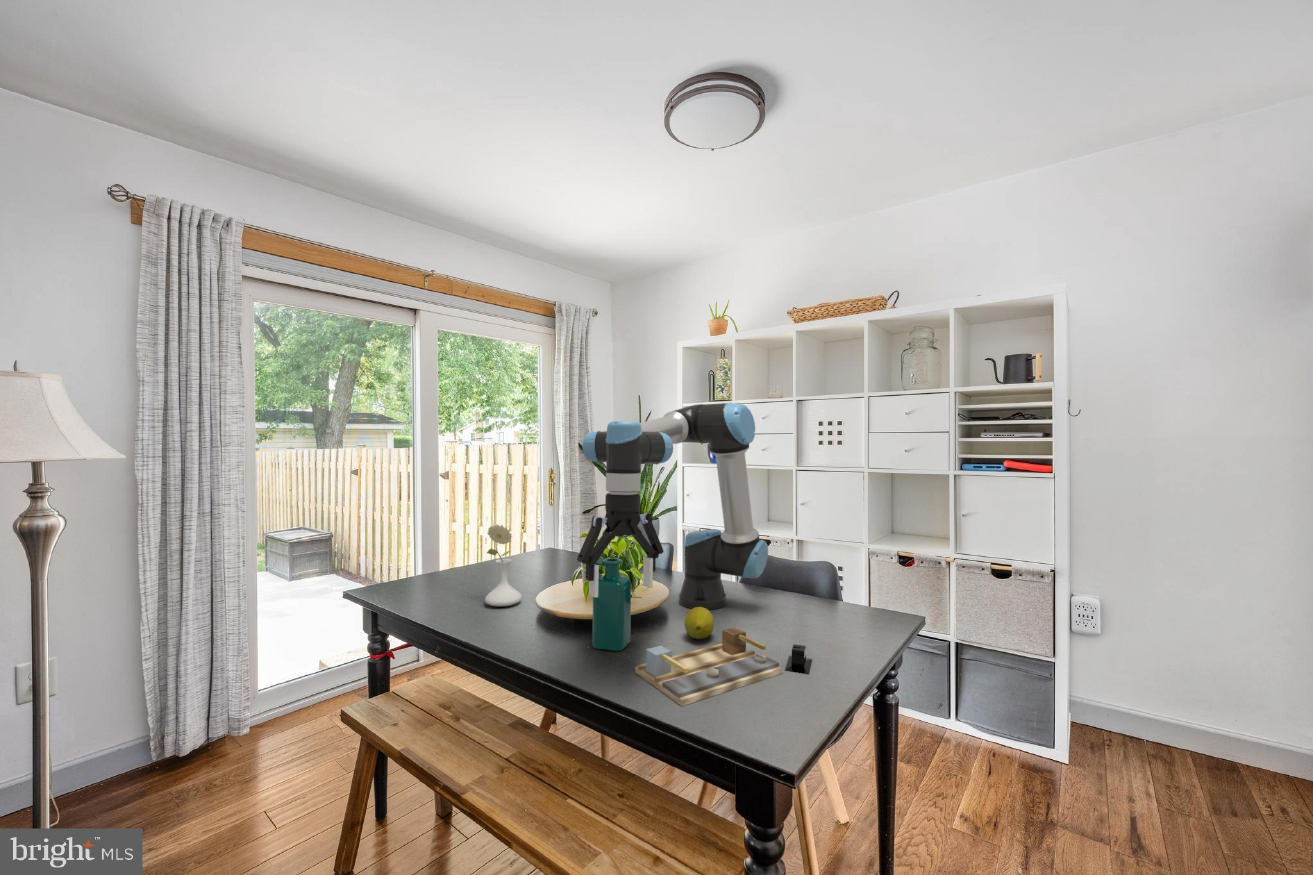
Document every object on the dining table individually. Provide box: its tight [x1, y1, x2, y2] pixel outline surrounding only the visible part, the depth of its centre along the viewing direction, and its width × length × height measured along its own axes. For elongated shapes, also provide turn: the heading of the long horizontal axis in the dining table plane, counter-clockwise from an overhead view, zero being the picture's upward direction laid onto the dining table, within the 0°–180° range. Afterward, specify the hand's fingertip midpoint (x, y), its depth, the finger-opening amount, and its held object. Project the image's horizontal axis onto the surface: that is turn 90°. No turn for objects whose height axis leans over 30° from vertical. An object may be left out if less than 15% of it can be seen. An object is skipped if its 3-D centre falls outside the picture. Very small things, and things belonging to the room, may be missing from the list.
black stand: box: [784, 644, 813, 675], centre depth 127 cm, size 12×7×5 cm, turn 159°
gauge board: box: [634, 626, 783, 707], centre depth 122 cm, size 28×18×6 cm, turn 123°
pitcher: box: [592, 555, 632, 652], centre depth 139 cm, size 10×8×22 cm
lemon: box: [683, 607, 715, 640], centre depth 144 cm, size 11×8×8 cm
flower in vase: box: [484, 524, 523, 607], centre depth 172 cm, size 13×11×25 cm
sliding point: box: [645, 645, 688, 677], centre depth 116 cm, size 4×12×5 cm, turn 33°
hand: (621, 591), depth 117 cm, fingers open, 13 cm apart
